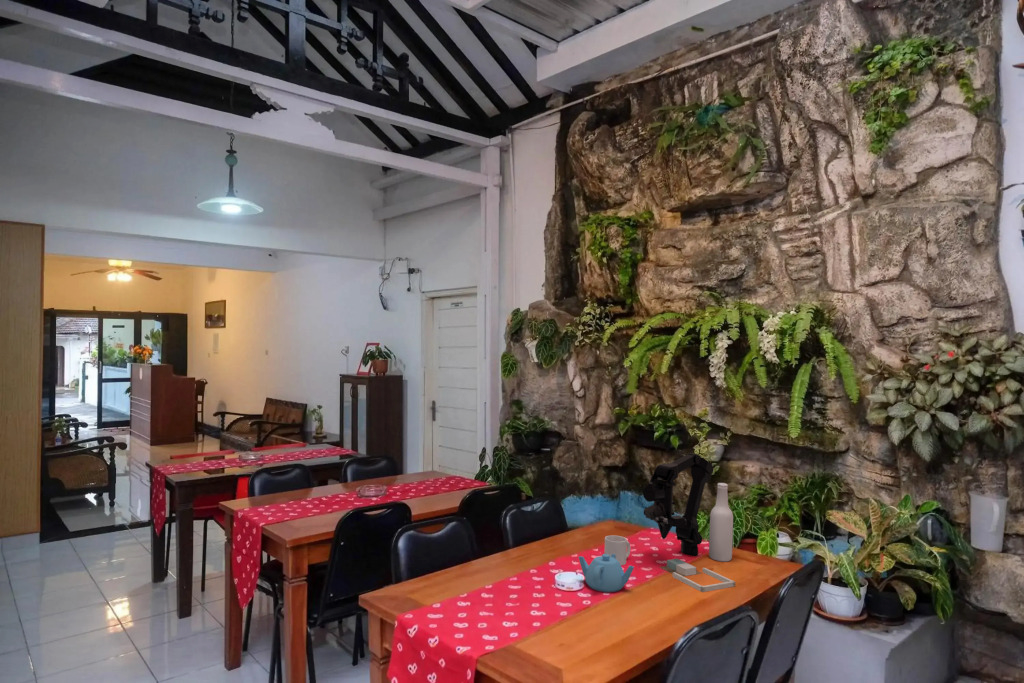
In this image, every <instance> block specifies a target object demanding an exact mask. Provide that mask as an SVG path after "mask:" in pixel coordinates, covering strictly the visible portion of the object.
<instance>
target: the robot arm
mask: <svg viewBox="0 0 1024 683" xmlns="http://www.w3.org/2000/svg"><path fill="white" fill-rule="evenodd" d="M689 468H690V475H691V478H692V482H691V486H690V490H689V493H688V497H687V502H686V505H685V506H686V507H685V510H684V514H683V515H682V516H681V515H675V512H674V511H673V506H674V505H676V504H675V502H676V501H674V499H673V498H674V497H673V495H674V491H673V490H674V487H675V486H677V483H675V482H674V481H675V480H677V479H678V477H679V474H680V473H682V472H684V471H685V470H687V469H689ZM713 472H714V466H713V464H712V462H710V461H709V460H706V459H705V458H703V457H702V456H700V454H698V453H692V452H688V453H686V454H685V455H683V456H681V457H679V458H677V459H676V460H674V461H672V462H669V463H661V464H658V465H657V466H656V467H655V469H654V471H653V474H652V476H651V478H650V481H649V482H647V486H645V487H644V488H643V491H642V496H643V499H645V501H646V502H649V503H651V502H653V504H651V505H649V506H647V507H645V508H644V509H643V516H645V518H646V519H650V520H651V521H654V522H655V523H656V524H657V526H658V529H659V533H660V536H661V539H663V540H665V539H667V537H668V535H669V533H670V531H671V529H672V527H675V534H676V535H675V536H676V540H677V541H680V552H681V554H683V555H685V556H690V557H698V555H699V547H698V546H700V545H701V544H702V542H703V537H702V535H701V532H699V530H700V525H699V522H698V519H697V517H698V514H699V510H700V505H701V501H702V498H703V492H704V489H705V485H706V484H707V482H709V480H710V479H711V478H712V475H713Z"/></svg>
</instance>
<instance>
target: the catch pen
mask: <svg viewBox="0 0 1024 683" xmlns="http://www.w3.org/2000/svg"><path fill="white" fill-rule="evenodd" d="M701 573H702V574H705V575H708V576H709V577H712V578H714V579H716V580H718V581H720V583H714V584H707V585H702V584H699V583H697V582H695V581H694V580H691V579H689V578H687V577H686V576H681V575H679V574H677V573H675V572H673V574H672V577H673V578H674V579H675V580H678V581H680V582H681V583H684V584H685V585H688V586H690V587H692V588H693V589H695V590H697V591H699V592H701V593H705V592H710V591H711V592H712V591H717V590H722V589H727V588H733V587H736V581H734V580H732V579H730V578H728V577H726V576H723V575H721V574H719V573H718V572H715V571H712V570H711V569H708V568H706V567H702V572H701Z"/></svg>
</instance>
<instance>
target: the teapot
mask: <svg viewBox="0 0 1024 683" xmlns="http://www.w3.org/2000/svg"><path fill="white" fill-rule="evenodd" d="M584 557H585V556H582V555H581V556H578V561H579V564H580V567H581V570H582V573H583V577H584V581H585V583H586V584H587V586H589V588H590V589H592V590H595V591H598V592H602V593H615V592H618V591H620V590H622V589H623V588H624V587H625V585H626V584H627V583H628V581H629V579H630V577H631V575H632V573H633V571H634V569H635V566H633V565H628V568H626V570H625V571H624V569H623V567H622V565H620V563H619V562H618V560H617V559H616V554H611V557H610V555H608V554H604V553H603V554H601V555H600V556H599V555H598V556H596V557H594V558H593V559H592V561H591V562H590V564H588V562H587V561H586V559H585V558H584Z"/></svg>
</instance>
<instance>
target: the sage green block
mask: <svg viewBox="0 0 1024 683" xmlns="http://www.w3.org/2000/svg"><path fill="white" fill-rule="evenodd" d="M683 563H687V562H685V561H684V560H681V559H679V558H672V559H666V566H667V567H668V568H670V569H672V570H674V571H676V565H677V564H683Z"/></svg>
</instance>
